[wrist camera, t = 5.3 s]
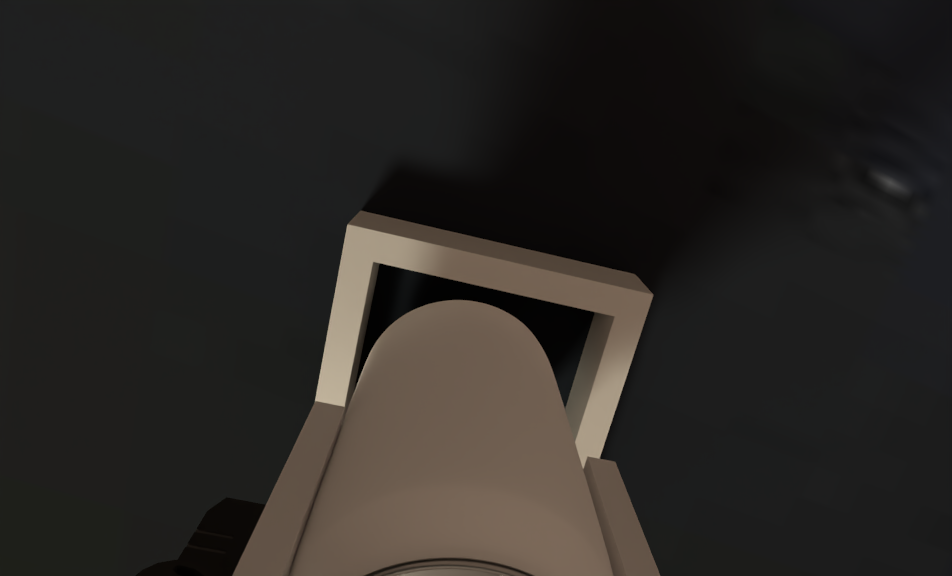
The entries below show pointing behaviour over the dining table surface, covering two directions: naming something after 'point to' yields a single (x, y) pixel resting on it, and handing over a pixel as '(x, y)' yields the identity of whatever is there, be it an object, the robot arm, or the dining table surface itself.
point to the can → (454, 460)
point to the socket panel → (503, 269)
